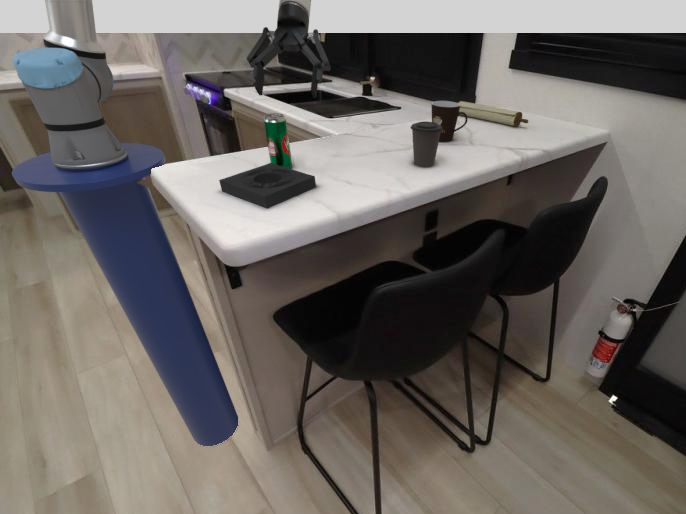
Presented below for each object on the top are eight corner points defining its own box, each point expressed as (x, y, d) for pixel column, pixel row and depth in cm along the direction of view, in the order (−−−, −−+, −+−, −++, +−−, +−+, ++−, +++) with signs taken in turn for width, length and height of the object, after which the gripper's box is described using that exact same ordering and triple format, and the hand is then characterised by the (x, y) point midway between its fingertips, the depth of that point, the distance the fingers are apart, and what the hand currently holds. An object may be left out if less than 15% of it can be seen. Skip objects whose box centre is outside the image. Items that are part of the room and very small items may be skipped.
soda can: (267, 167, 93) (258, 114, 86) (286, 163, 96) (278, 111, 88) (277, 173, 90) (268, 118, 83) (296, 168, 93) (289, 115, 86)
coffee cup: (445, 164, 99) (450, 124, 93) (424, 171, 95) (428, 129, 88) (423, 157, 104) (425, 117, 97) (402, 163, 99) (403, 122, 93)
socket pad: (221, 191, 81) (218, 179, 79) (272, 173, 90) (270, 162, 88) (267, 208, 75) (264, 196, 73) (316, 187, 84) (314, 176, 83)
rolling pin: (530, 128, 133) (533, 112, 130) (522, 130, 130) (526, 115, 127) (454, 112, 149) (456, 97, 146) (446, 114, 146) (447, 99, 143)
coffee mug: (424, 136, 120) (426, 101, 113) (447, 134, 123) (451, 100, 116) (441, 147, 111) (445, 110, 105) (466, 144, 114) (471, 108, 108)
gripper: (345, 29, 98) (339, 105, 96) (251, 25, 99) (242, 100, 96) (340, 3, 91) (333, 84, 88) (238, -1, 91) (228, 80, 89)
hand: (286, 93), depth 92 cm, fingers open, 13 cm apart
